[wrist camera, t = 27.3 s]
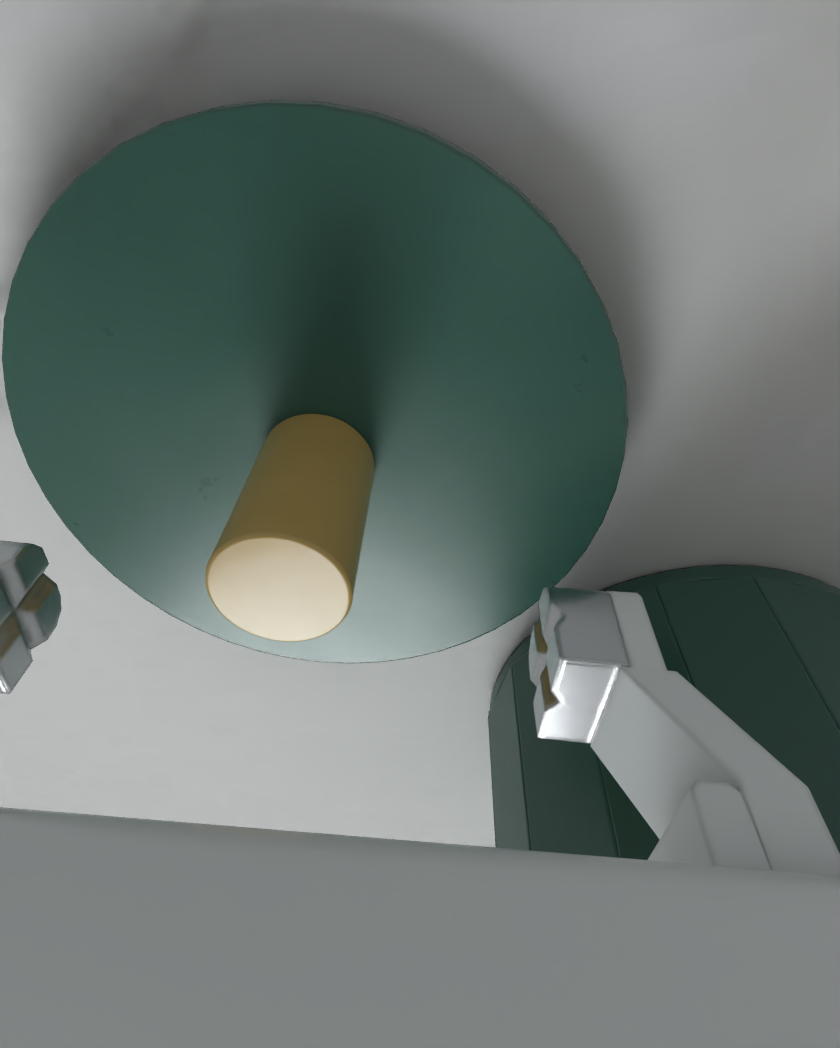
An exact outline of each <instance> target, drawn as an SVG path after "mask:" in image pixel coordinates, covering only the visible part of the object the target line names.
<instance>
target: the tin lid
mask: <svg viewBox="0 0 840 1048" xmlns="http://www.w3.org/2000/svg"><path fill="white" fill-rule="evenodd" d="M2 363H3V372H4V382H5V391H6V398H7V402H8V406H9V410H10V414H11V418H12V422H13V426H14V430H15V433H16V436H17V438H18V441H19V443H20V446H21V448H22V451H23V453H24V456H25V458H26V461H27V463H28V466H29V468H30V470H31V471H32V473H33V475H34V477H35V479H36V480H37V482H38V484H39V486H40V488H41V490H42V491H43V493H44V495H45V497H46V498H47V500H48V501H49V503H50V504H51V506H52V507H53V508H54V510H55V511H56V513H57V514H58V515H59V517H60V518H61V520H62V521H63V523H64V524H65V525H66V527H67V528H68V529H69V530H70V531H71V532H72V534H73V535H74V536H75V537H76V538H77V539H78V540H79V542H80V543H81V544H82V545H83V546H84V547H85V548H86V549H87V551H88V552H89V553H90V554H91V555H92V556H93V557H94V558H96V559H97V560H98V561H99V562H100V563H101V564H102V565H103V566H104V567H105V568H106V569H107V570H108V571H109V572H111V573H112V574H113V575H114V576H115V577H116V578H118V579H119V580H120V581H121V582H123V583H124V584H125V585H127V586H128V587H129V588H131V589H132V590H133V591H134V592H136V593H137V594H138V595H140V596H141V597H143V598H144V599H146V600H147V601H149V602H150V603H152V604H154V605H155V606H157V607H158V608H160V609H162V610H163V611H165V612H166V613H168V614H169V615H171V616H173V617H175V618H177V619H179V620H181V621H183V622H185V623H187V624H189V625H191V626H193V627H195V628H197V629H199V630H201V631H204V632H206V633H209V634H211V635H213V636H216V637H218V638H221V639H223V640H226V641H228V642H231V643H234V644H238V645H241V646H244V647H247V648H250V649H254V650H257V651H261V652H265V653H270V654H274V655H279V656H283V657H288V658H294V659H302V660H309V661H317V662H333V663H370V662H384V661H392V660H400V659H407V658H413V657H417V656H421V655H426V654H430V653H435V652H439V651H442V650H445V649H448V648H451V647H454V646H457V645H460V644H463V643H466V642H468V641H471V640H473V639H475V638H477V637H479V636H482V635H484V634H486V633H488V632H490V631H493V630H495V629H496V628H498V627H500V626H501V625H503V624H505V623H507V622H508V621H510V620H512V619H513V618H515V617H517V616H518V615H520V614H521V613H523V612H524V611H525V610H527V609H528V608H529V607H531V606H532V605H533V604H535V603H536V602H537V601H539V600H540V597H541V593H542V591H543V589H544V587H554V586H555V585H556V584H557V583H558V582H559V581H560V580H561V579H562V578H564V577H565V576H566V575H567V573H568V572H569V571H570V570H571V568H572V567H573V566H574V565H575V563H576V562H577V561H578V559H579V558H580V557H581V556H582V554H583V553H584V552H585V551H586V549H587V547H588V546H589V544H590V542H591V541H592V539H593V537H594V536H595V534H596V532H597V531H598V529H599V527H600V526H601V524H602V522H603V520H604V517H605V515H606V513H607V510H608V508H609V505H610V503H611V501H612V498H613V496H614V494H615V491H616V487H617V483H618V479H619V476H620V472H621V468H622V464H623V460H624V454H625V444H626V435H627V425H628V415H627V394H626V381H625V376H624V371H623V366H622V361H621V356H620V352H619V347H618V343H617V340H616V337H615V335H614V332H613V329H612V326H611V324H610V321H609V318H608V315H607V313H606V310H605V307H604V304H603V302H602V301H601V299H600V297H599V295H598V293H597V291H596V290H595V288H594V286H593V284H592V282H591V280H590V279H589V277H588V275H587V273H586V271H585V269H584V268H583V266H582V264H581V262H580V261H579V259H578V257H577V256H576V255H575V253H574V252H573V251H572V249H571V248H570V247H569V245H568V244H567V243H566V241H565V240H564V239H563V237H562V236H561V235H560V233H559V232H558V231H557V229H556V228H555V227H554V226H553V224H552V223H551V222H550V220H549V219H548V218H547V217H546V216H545V215H544V214H543V213H542V212H541V211H540V210H539V209H538V208H537V207H536V206H535V205H534V204H533V203H532V202H531V201H530V200H529V199H528V198H527V197H526V196H525V195H524V194H523V193H522V192H521V191H519V190H518V189H517V188H516V187H515V186H514V185H513V184H512V183H511V182H509V181H508V180H506V179H505V178H504V177H502V176H501V175H500V174H498V173H497V172H496V171H494V170H493V169H491V168H490V167H489V166H487V165H486V164H485V163H483V162H482V161H481V160H479V159H478V158H476V157H475V156H474V155H472V154H470V153H468V152H467V151H465V150H463V149H461V148H459V147H457V146H455V145H453V144H451V143H450V142H448V141H446V140H444V139H442V138H440V137H438V136H436V135H435V134H433V133H431V132H429V131H427V130H425V129H422V128H419V127H416V126H413V125H410V124H408V123H405V122H402V121H399V120H396V119H393V118H391V117H388V116H385V115H382V114H379V113H377V112H372V111H367V110H362V109H356V108H351V107H346V106H341V105H336V104H331V103H325V102H306V101H279V100H269V101H261V102H252V103H244V104H236V105H228V106H220V107H216V108H213V109H209V110H206V111H202V112H199V113H196V114H192V115H189V116H185V117H182V118H179V119H175V120H172V121H169V122H165V123H162V124H160V125H158V126H156V127H154V128H152V129H150V130H148V131H146V132H144V133H142V134H140V135H138V136H136V137H134V138H132V139H130V140H128V141H126V142H124V143H122V144H120V145H118V146H117V147H115V148H114V149H113V150H111V151H110V152H109V153H107V154H106V155H105V156H103V157H102V158H101V159H99V160H98V161H97V162H95V163H94V164H93V165H91V166H90V167H89V168H87V169H86V170H85V171H83V172H82V173H81V174H80V175H79V176H78V177H77V178H76V179H75V180H74V181H73V182H72V183H71V185H70V186H69V187H68V188H67V189H66V190H65V191H64V192H63V193H62V194H61V195H60V196H59V197H58V199H57V200H56V201H55V202H54V203H53V204H52V205H51V206H50V208H49V209H48V211H47V213H46V214H45V216H44V217H43V219H42V220H41V222H40V224H39V225H38V227H37V228H36V230H35V231H34V233H33V235H32V236H31V238H30V239H29V241H28V243H27V245H26V248H25V250H24V253H23V255H22V258H21V260H20V263H19V265H18V268H17V270H16V273H15V275H14V278H13V280H12V285H11V289H10V294H9V299H8V303H7V308H6V313H5V317H4V329H3V350H2Z"/></svg>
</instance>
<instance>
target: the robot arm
mask: <svg viewBox="0 0 840 1048" xmlns="http://www.w3.org/2000/svg"><path fill="white" fill-rule="evenodd" d="M48 564H49V563H48V560H47V558H46V556H45V553H44V551H43V549H42V547H39V546H37V545H34V544H29V543H19V542H10V541H0V693H1V694H10V693H11V691H12V690H13V688H14V687H15V686H16V684H17V683H18V681H19V680H20V678H21V677H22V676H23V674H24V673H25V671H26V670H27V668H28V667H29V666H30V664H31V663H32V661H33V660H32V655H31V649H32V648H34V647H36V646H38V645H39V644H41V643H43V642H45V641H46V640H48V638H49V637H50V635H51V634H52V632H53V631H54V629H55V628H56V626H57V622H58V619H59V615H60V612H61V597H60V593H59V590H58V587H57V584H56V583H54V582H53V581H52V580H51V579H50V578H49V577H47V576H46V575H45V574H44V571H45V569H46V568H47V566H48ZM538 605H539V612H540V619H539V620H538V621H537V622H535V623H534V624H533V629H532V633H531V638H530V647H529V671H530V680H531V681H532V682H533V683H534V684H535V686H536V687H537V689H536V693H535V697H534V701H533V706H534V714H535V722H536V730H537V738H545V739H554V740H564V741H573V742H582V743H591V745H590V746H591V748H592V749H593V750H594V752H595V753H596V754H597V756H598V757H599V758H600V760H601V761H602V762H603V764H604V765H605V766H606V768H607V769H608V770H609V772H610V773H611V775H612V776H613V777H614V779H615V780H616V781H617V783H618V784H619V785H620V787H621V788H622V789H623V791H624V792H625V793H626V795H627V796H628V797H629V799H630V800H631V801H632V803H633V804H634V806H635V807H636V808H637V810H638V811H639V812H640V814H641V815H642V816H643V818H644V819H645V820H646V822H647V823H648V824H649V826H650V827H651V828H652V830H653V831H654V832H655V834H656V835H657V837H658V838H659V839H660V840H659V842H658V843H657V845H656V847H655V848H654V850H653V852H652V853H651V855H650V857H649V858H648V860H640V859H628V858H616V857H604V856H592V855H579V854H567V853H555V852H543V851H531V850H518V849H506V848H494V847H482V846H470V845H457V844H445V843H433V842H420V841H408V840H396V839H383V838H371V837H359V836H346V835H334V834H322V833H309V832H297V831H285V830H272V829H260V828H247V827H235V826H223V825H211V824H198V823H186V822H174V821H162V820H150V819H138V818H125V817H113V816H101V815H89V814H77V813H65V812H52V811H40V810H28V809H16V808H4V807H0V1048H840V853H839V851H838V849H837V847H836V845H835V843H834V841H833V839H832V836H831V834H830V832H829V830H828V828H827V826H826V824H825V822H824V820H823V818H822V815H821V813H820V811H819V809H818V807H817V805H816V803H815V801H814V799H813V796H812V794H811V792H810V790H809V788H808V787H807V786H806V785H805V784H804V783H803V782H802V781H801V780H799V779H798V778H797V777H796V776H795V775H794V774H793V773H791V772H790V771H789V770H788V769H787V768H786V767H785V766H783V765H782V764H781V763H780V762H779V761H778V760H777V759H776V758H774V757H773V756H772V755H771V754H770V753H769V752H768V751H766V750H765V749H764V748H763V747H762V746H761V745H760V744H759V743H757V742H756V741H755V740H754V739H753V738H752V737H751V736H749V735H748V734H747V733H746V732H745V731H744V730H743V729H741V728H740V727H739V726H738V725H737V724H736V723H735V722H734V721H732V720H731V719H730V718H729V717H728V716H727V715H726V714H724V713H723V712H722V711H721V710H720V709H719V708H718V707H717V706H715V705H714V704H713V703H712V702H711V701H710V700H709V699H707V698H706V697H705V696H704V695H703V694H702V693H701V692H700V691H698V690H697V689H696V688H695V687H694V686H693V685H692V684H690V683H689V682H688V681H687V680H686V679H685V678H684V677H682V676H681V675H680V674H679V673H678V672H677V671H667V668H666V665H665V663H664V660H663V657H662V654H661V651H660V648H659V645H658V642H657V640H656V637H655V634H654V631H653V628H652V625H651V622H650V619H649V617H648V614H647V611H646V608H645V605H644V602H643V599H642V597H641V596H640V595H639V594H638V593H631V592H616V591H606V592H604V591H595V590H582V589H568V588H555V587H544V589H543V591H542V593H541V597H540V600H539V604H538Z"/></svg>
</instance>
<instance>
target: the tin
mask: <svg viewBox="0 0 840 1048" xmlns="http://www.w3.org/2000/svg"><path fill="white" fill-rule="evenodd" d="M602 591H604V592H606V591H616V592H631V593H638V594H639V595H640V596H641V597H642V599H643V602H644V605H645V608H646V611H647V614H648V617H649V619H650V622H651V625H652V628H653V631H654V634H655V637H656V640H657V642H658V645H659V648H660V651H661V654H662V657H663V660H664V663H665V665H666V668H667V671H677V672H678V673H679V674H680V675H681V676H682V677H684V678H685V679H686V680H687V681H688V682H689V683H690V684H692V685H693V686H694V687H695V688H696V689H697V690H698V691H700V692H701V693H702V694H703V695H704V696H705V697H706V698H707V699H709V700H710V701H711V702H712V703H713V704H714V705H715V706H717V707H718V708H719V709H720V710H721V711H722V712H723V713H724V714H726V715H727V716H728V717H729V718H730V719H731V720H732V721H734V722H735V723H736V724H737V725H738V726H739V727H740V728H741V729H743V730H744V731H745V732H746V733H747V734H748V735H749V736H751V737H752V738H753V739H754V740H755V741H756V742H757V743H759V744H760V745H761V746H762V747H763V748H764V749H765V750H766V751H768V752H769V753H770V754H771V755H772V756H773V757H774V758H776V759H777V760H778V761H779V762H780V763H781V764H782V765H783V766H785V767H786V768H787V769H788V770H789V771H790V772H791V773H793V774H794V775H795V776H796V777H797V778H798V779H799V780H801V781H802V782H803V783H804V784H805V785H806V786H807V787H808V788H809V790H810V792H811V794H812V796H813V799H814V801H815V803H816V805H817V807H818V809H819V811H820V813H821V815H822V818H823V820H824V822H825V824H826V826H827V828H828V830H829V832H830V834H831V836H832V839H833V841H834V843H835V845H836V847H837V849H838V851H839V853H840V590H839V589H837V588H835V587H833V586H831V585H828V584H826V583H823V582H821V581H819V580H816V579H814V578H811V577H807V576H804V575H800V574H796V573H793V572H789V571H784V570H778V569H771V568H764V567H758V566H735V565H722V566H703V567H692V568H685V569H678V570H672V571H665V572H661V573H657V574H653V575H648V576H644V577H640V578H636V579H633V580H630V581H627V582H624V583H621V584H618V585H615V586H612V587H609V588H607V589H604V590H602ZM530 638H531V635H530V636H529V637H528V638H526V639H525V640H524V641H523V642H522V643H521V644H520V645H519V647H518V648H517V649H516V650H515V652H514V653H513V654H512V655H511V657H510V658H509V659H508V661H507V662H506V664H505V666H504V667H503V669H502V671H501V673H500V674H499V676H498V679H497V681H496V684H495V687H494V690H493V693H492V698H491V705H490V711H489V716H488V725H489V742H490V759H491V776H492V793H493V811H494V828H495V845H496V848H506V849H518V850H531V851H543V852H555V853H567V854H579V855H592V856H604V857H616V858H628V859H640V860H648V858H649V857H650V855H651V853H652V852H653V850H654V848H655V847H656V845H657V843H658V842H659V840H660V839H659V838H658V837H657V835H656V834H655V832H654V831H653V830H652V828H651V827H650V826H649V824H648V823H647V822H646V820H645V819H644V818H643V816H642V815H641V814H640V812H639V811H638V810H637V808H636V807H635V806H634V804H633V803H632V801H631V800H630V799H629V797H628V796H627V795H626V793H625V792H624V791H623V789H622V788H621V787H620V785H619V784H618V783H617V781H616V780H615V779H614V777H613V776H612V775H611V773H610V772H609V770H608V769H607V768H606V766H605V765H604V764H603V762H602V761H601V760H600V758H599V757H598V756H597V754H596V753H595V752H594V750H593V749H592V748H591V746H590V745H591V743H582V742H573V741H564V740H554V739H545V738H537V730H536V722H535V714H534V706H533V701H534V697H535V693H536V689H537V687H536V686H535V684H534V683H533V682H532V681H531V680H530V671H529V647H530Z"/></svg>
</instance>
